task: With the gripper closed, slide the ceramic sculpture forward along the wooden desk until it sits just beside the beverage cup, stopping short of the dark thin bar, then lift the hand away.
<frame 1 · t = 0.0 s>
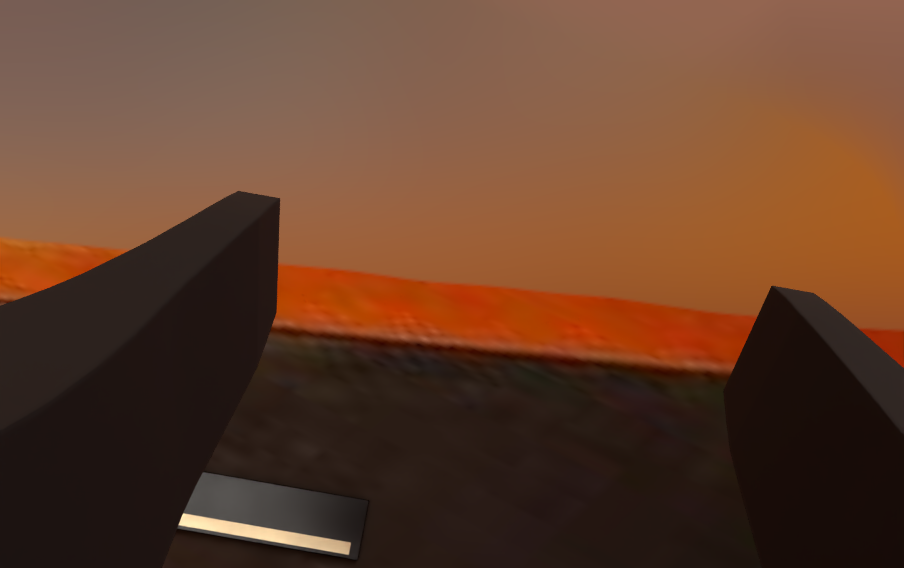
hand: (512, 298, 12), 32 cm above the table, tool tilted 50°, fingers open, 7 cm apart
dark thin bar: (78, 480, 42), on the table
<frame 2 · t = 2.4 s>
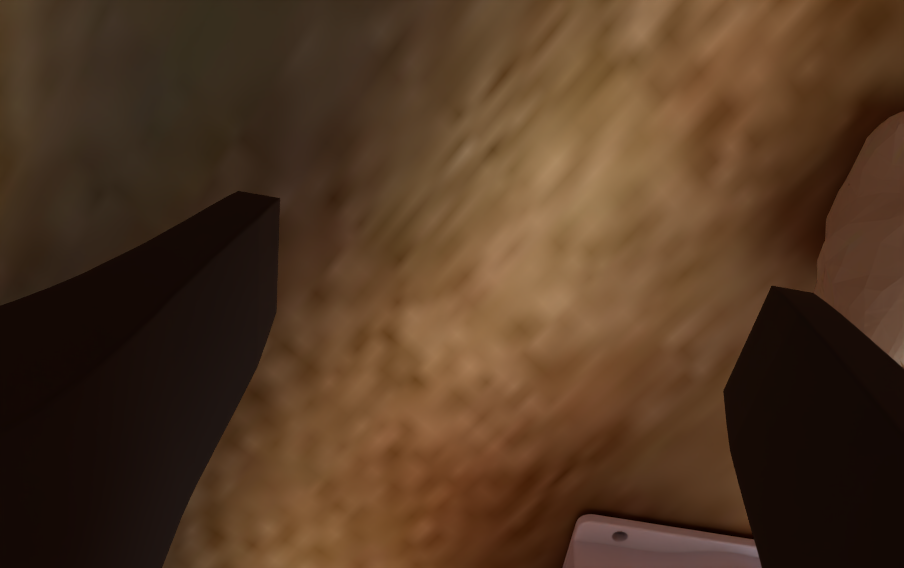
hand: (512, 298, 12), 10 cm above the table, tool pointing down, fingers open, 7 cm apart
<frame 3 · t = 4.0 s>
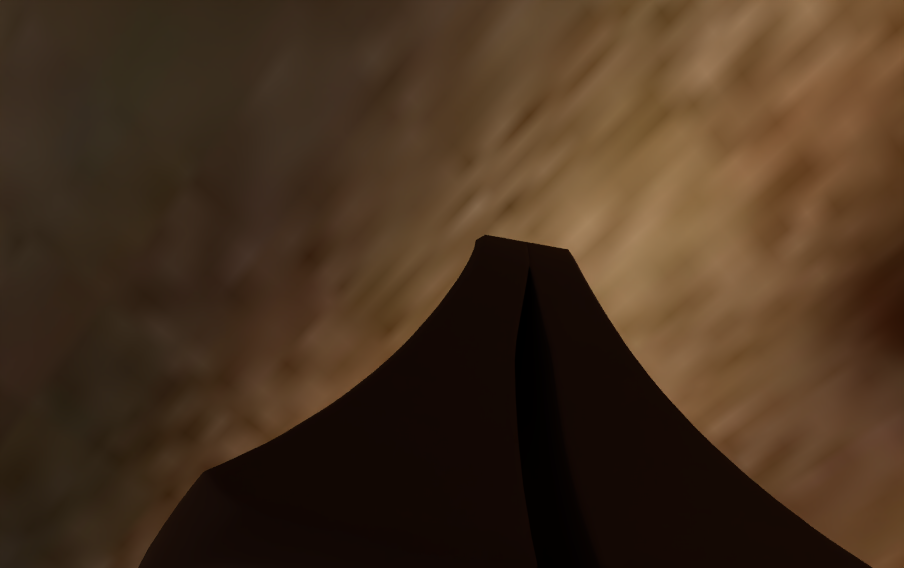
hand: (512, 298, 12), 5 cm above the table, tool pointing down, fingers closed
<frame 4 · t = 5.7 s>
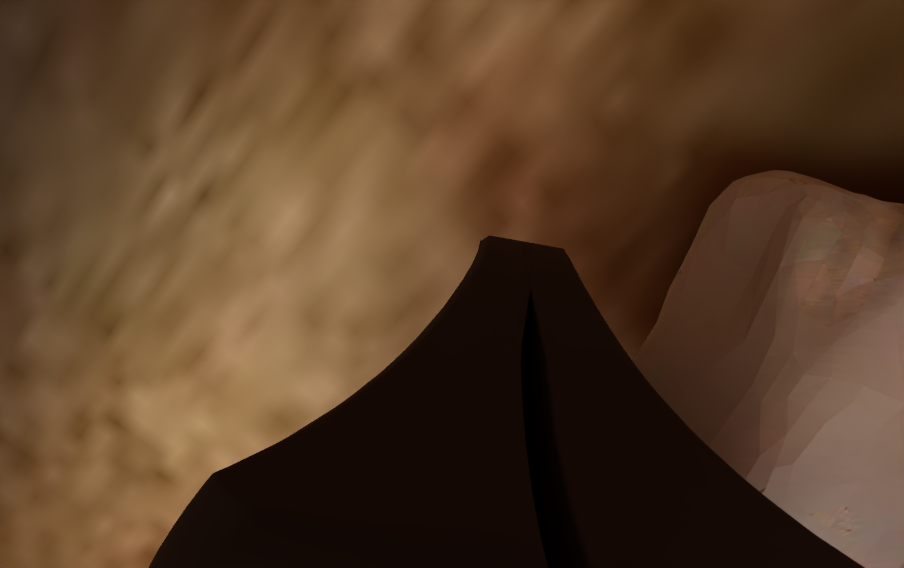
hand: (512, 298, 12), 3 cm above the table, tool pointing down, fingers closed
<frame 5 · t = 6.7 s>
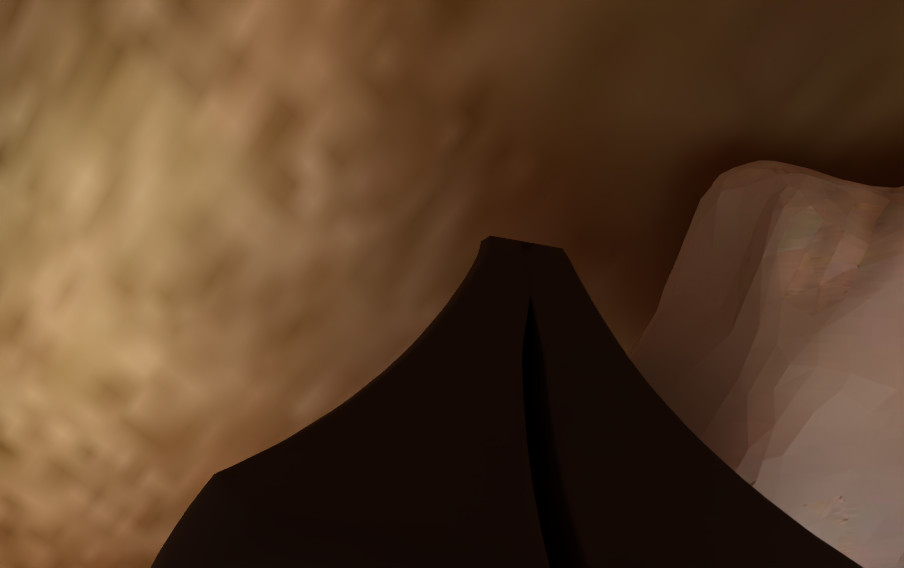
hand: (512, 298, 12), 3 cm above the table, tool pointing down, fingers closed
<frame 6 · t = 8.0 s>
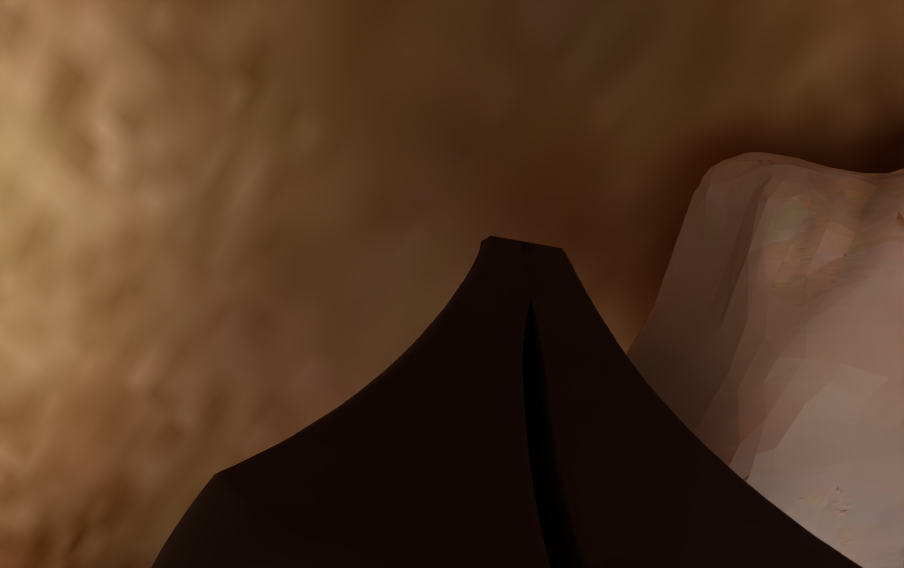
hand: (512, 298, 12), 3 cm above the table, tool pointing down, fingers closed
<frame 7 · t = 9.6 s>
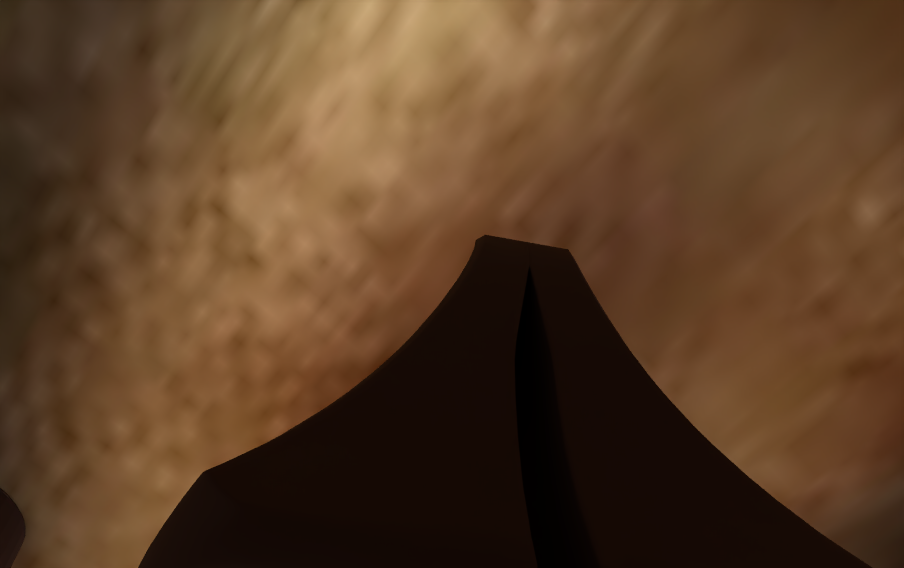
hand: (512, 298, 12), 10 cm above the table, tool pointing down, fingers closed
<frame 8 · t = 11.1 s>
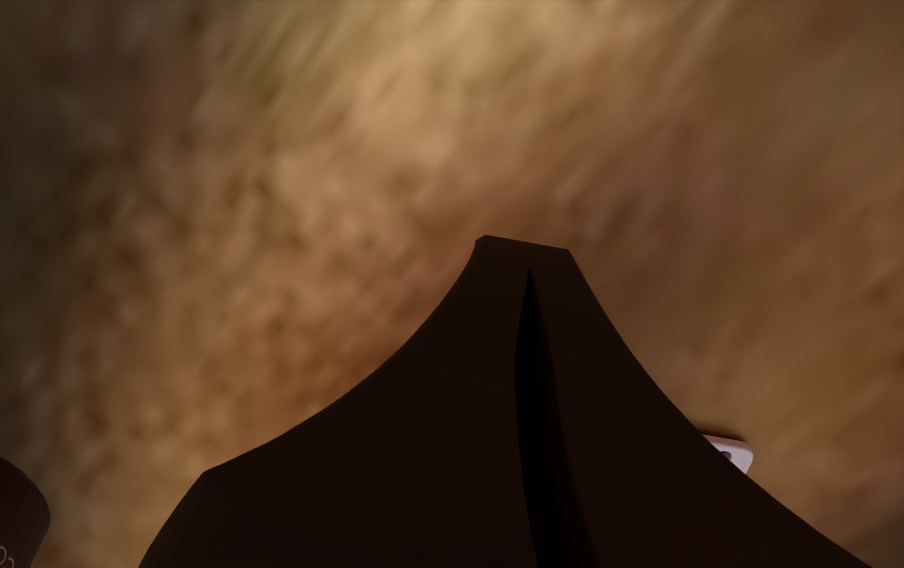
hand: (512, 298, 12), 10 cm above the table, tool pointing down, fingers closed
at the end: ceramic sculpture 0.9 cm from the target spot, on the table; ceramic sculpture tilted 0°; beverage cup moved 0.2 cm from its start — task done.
